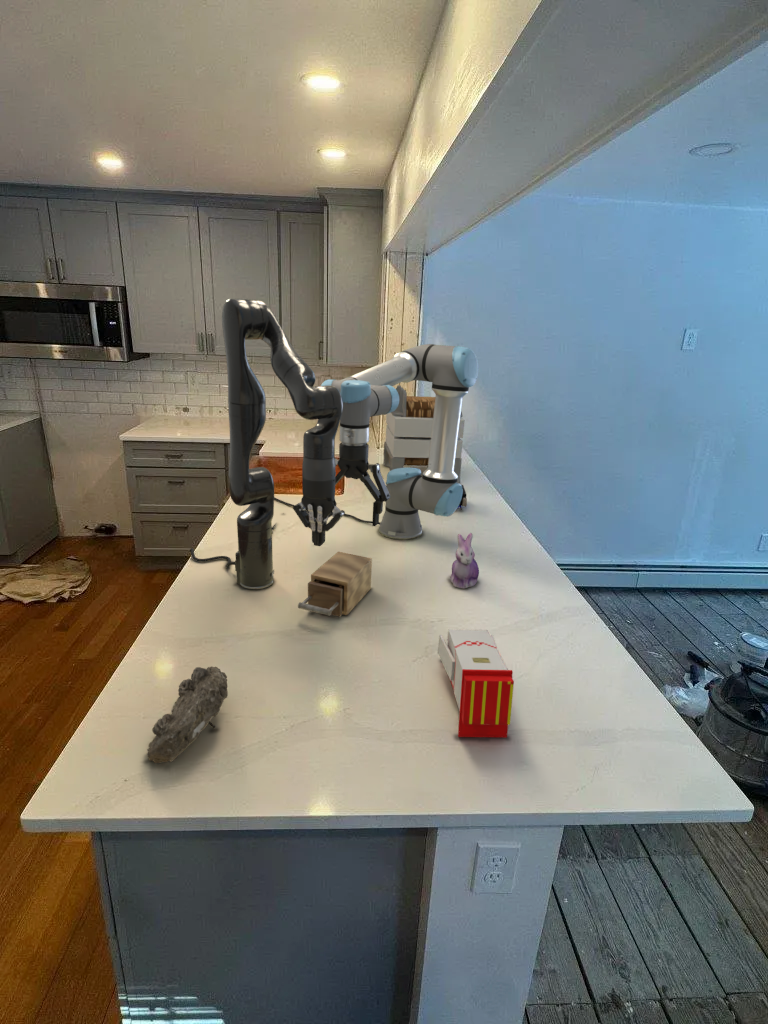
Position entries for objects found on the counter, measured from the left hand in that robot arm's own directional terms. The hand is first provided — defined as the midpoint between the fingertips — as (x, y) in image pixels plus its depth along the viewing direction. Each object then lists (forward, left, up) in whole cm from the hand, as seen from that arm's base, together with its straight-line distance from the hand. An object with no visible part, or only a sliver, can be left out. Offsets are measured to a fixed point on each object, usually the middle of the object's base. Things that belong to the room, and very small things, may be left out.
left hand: (318, 544), depth 135 cm
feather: (-38, +54, -21) cm, 70 cm away
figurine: (+32, +35, -21) cm, 52 cm away
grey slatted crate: (-6, +145, -21) cm, 146 cm away
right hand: (+2, +19, 0) cm, 19 cm away
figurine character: (+19, +102, -21) cm, 106 cm away
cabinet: (+1, +14, -21) cm, 25 cm away
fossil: (-7, -42, -21) cm, 48 cm away
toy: (+40, -15, -21) cm, 48 cm away
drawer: (+1, +8, -20) cm, 21 cm away
